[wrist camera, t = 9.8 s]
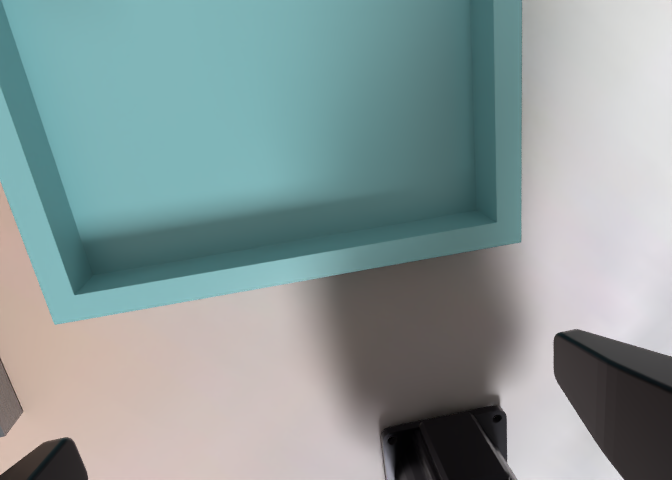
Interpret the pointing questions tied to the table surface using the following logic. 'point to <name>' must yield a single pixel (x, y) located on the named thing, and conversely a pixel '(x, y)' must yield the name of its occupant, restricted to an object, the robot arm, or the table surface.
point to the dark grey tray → (7, 404)
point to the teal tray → (253, 141)
